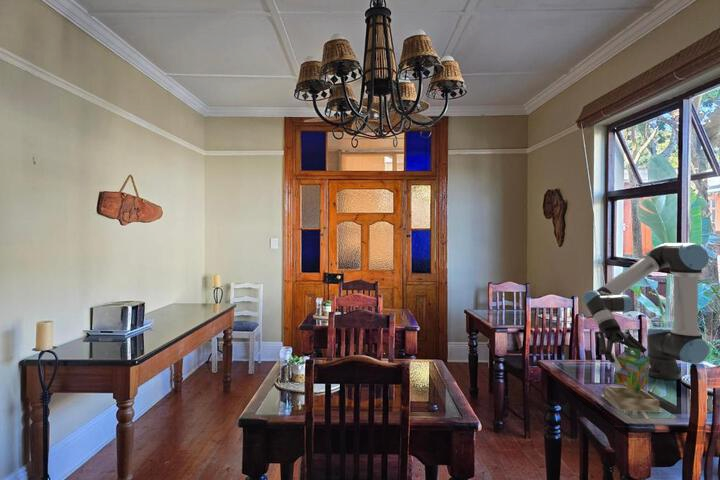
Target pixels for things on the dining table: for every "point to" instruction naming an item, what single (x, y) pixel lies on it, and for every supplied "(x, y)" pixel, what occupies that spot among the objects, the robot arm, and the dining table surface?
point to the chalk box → (632, 369)
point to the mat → (628, 409)
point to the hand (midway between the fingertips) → (634, 369)
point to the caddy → (631, 398)
